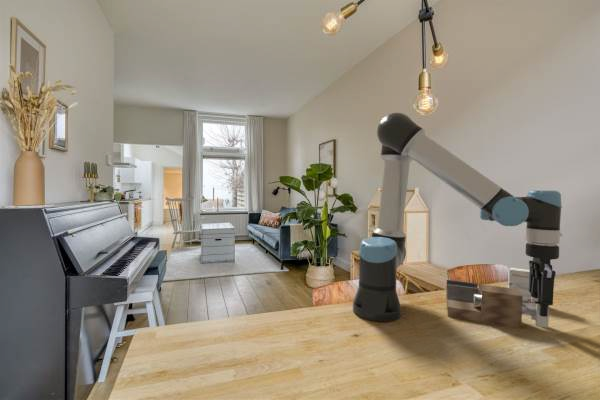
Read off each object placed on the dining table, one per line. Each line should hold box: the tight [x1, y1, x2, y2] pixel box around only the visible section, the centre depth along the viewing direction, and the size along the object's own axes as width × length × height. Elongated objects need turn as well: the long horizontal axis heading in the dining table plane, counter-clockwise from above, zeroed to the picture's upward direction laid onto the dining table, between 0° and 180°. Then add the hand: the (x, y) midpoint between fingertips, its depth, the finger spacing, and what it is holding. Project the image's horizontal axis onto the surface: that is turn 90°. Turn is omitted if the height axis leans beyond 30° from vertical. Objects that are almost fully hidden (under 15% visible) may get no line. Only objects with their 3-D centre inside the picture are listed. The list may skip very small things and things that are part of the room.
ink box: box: [507, 267, 531, 301], centre depth 104 cm, size 9×5×12 cm, turn 58°
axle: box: [473, 294, 536, 317], centre depth 89 cm, size 18×4×4 cm, turn 66°
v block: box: [445, 279, 479, 303], centre depth 106 cm, size 10×7×6 cm
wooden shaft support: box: [446, 283, 523, 329], centre depth 92 cm, size 19×7×10 cm, turn 66°
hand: (539, 322), depth 86 cm, fingers closed on axle, 4 cm apart
